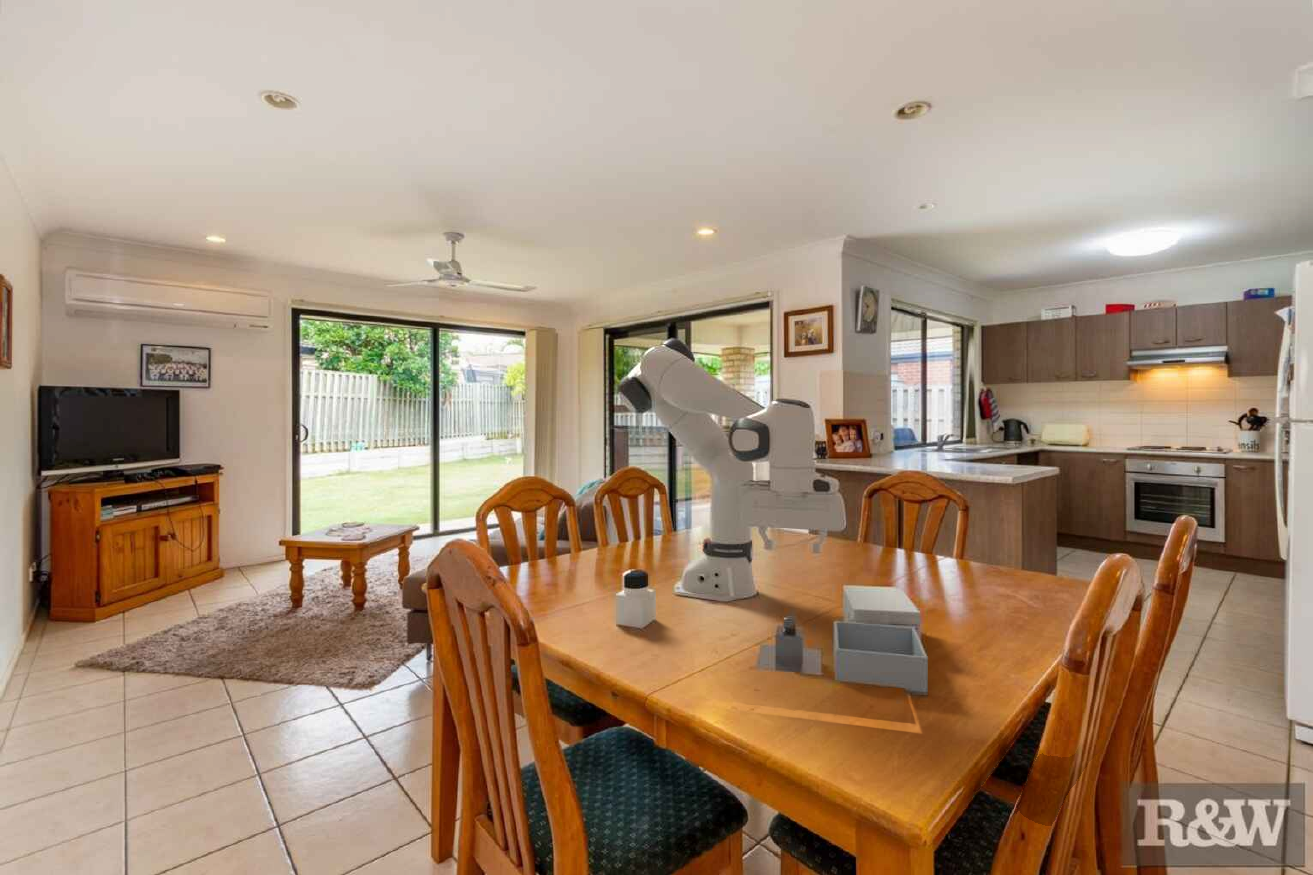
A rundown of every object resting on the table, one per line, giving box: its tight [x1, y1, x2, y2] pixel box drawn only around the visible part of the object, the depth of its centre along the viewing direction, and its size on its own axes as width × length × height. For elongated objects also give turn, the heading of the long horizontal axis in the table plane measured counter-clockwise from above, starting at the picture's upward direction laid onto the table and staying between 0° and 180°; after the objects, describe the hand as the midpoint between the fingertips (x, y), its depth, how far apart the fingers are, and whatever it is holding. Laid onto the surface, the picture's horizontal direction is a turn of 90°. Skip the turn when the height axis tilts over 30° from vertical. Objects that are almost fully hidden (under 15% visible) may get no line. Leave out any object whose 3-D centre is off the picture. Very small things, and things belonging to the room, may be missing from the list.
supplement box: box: [842, 584, 922, 641], centre depth 130 cm, size 17×13×9 cm
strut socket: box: [774, 615, 804, 665], centre depth 117 cm, size 5×5×8 cm
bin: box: [833, 620, 929, 697], centre depth 113 cm, size 15×15×7 cm
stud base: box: [754, 643, 822, 676], centre depth 117 cm, size 12×12×4 cm
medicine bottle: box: [614, 569, 656, 629], centre depth 141 cm, size 7×7×12 cm
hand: (792, 550), depth 119 cm, fingers open, 8 cm apart
